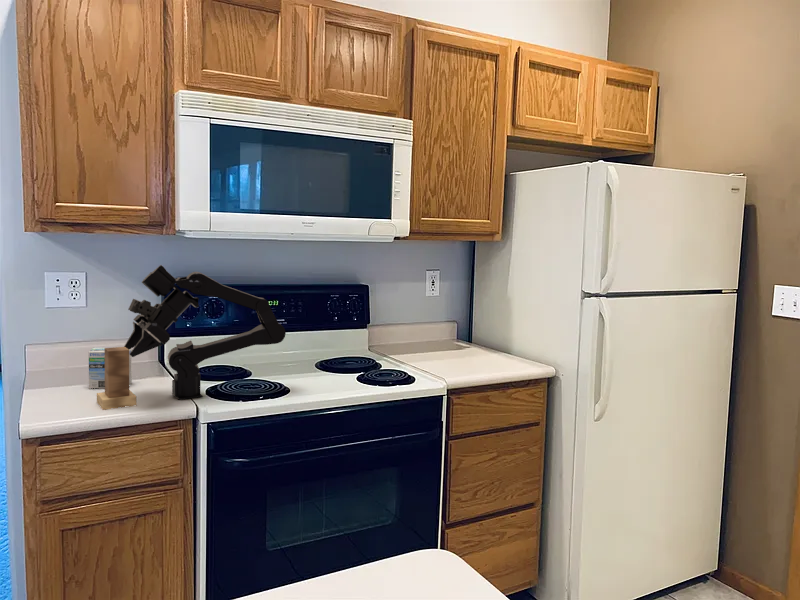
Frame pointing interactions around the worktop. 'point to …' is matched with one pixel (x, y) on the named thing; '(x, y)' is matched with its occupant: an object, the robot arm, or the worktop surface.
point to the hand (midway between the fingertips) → (127, 352)
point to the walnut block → (116, 372)
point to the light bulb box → (100, 368)
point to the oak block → (115, 401)
